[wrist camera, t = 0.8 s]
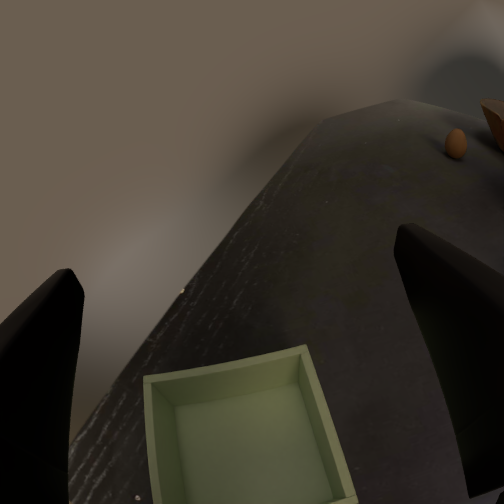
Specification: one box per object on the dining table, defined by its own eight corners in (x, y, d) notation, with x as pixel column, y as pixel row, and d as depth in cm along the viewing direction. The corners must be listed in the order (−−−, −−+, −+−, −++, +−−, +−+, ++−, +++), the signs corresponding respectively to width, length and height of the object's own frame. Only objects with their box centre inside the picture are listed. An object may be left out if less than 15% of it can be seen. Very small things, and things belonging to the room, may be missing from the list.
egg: (451, 150, 50) (456, 123, 46) (467, 161, 47) (474, 133, 43) (438, 153, 49) (443, 125, 45) (455, 164, 46) (461, 135, 42)
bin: (342, 503, 16) (359, 502, 12) (186, 531, 15) (158, 536, 11) (303, 376, 24) (306, 343, 20) (168, 402, 23) (142, 375, 19)
